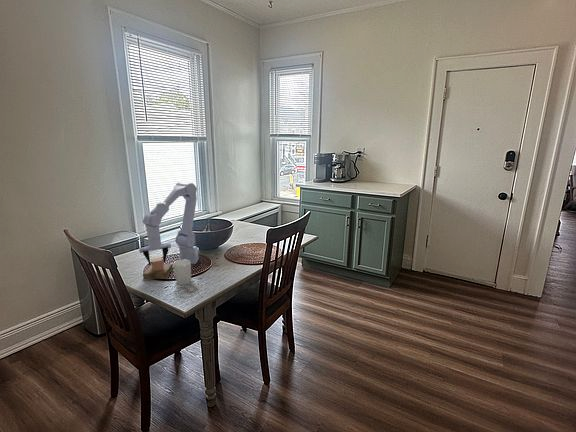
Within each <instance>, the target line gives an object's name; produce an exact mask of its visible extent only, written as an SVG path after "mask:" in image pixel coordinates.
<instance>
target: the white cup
mask: <svg viewBox="0 0 576 432" xmlns="http://www.w3.org/2000/svg"><path fill="white" fill-rule="evenodd" d="M172 267H173V271H174V277H175V282H176V284H177V285H179V286H183V285H188V284H190V283H191V282H192V264H191V261H190V260H186V259H184V260H180V259H178V260H176V261H174V262H172Z"/></svg>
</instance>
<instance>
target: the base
mask: <svg viewBox="0 0 576 432" xmlns="http://www.w3.org/2000/svg"><path fill="white" fill-rule="evenodd" d="M163 267H164V270H158V271H153V269H152V264H151V265H150V266H148V267H147V269H145V271H144V272H142V277H143V280H159V279H160V280H163V279H164V280H165V279H168V277H169V275H170V274H171V273H170V272H172V271H173V270H174V267H173V263H163ZM172 269H173V270H172Z"/></svg>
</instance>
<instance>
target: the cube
mask: <svg viewBox="0 0 576 432" xmlns="http://www.w3.org/2000/svg"><path fill="white" fill-rule="evenodd" d="M150 263H151V265H152V269H153V271H158V270H164V267H163V264H164V261H163V256H159V257H153V258H150Z"/></svg>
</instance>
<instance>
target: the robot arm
mask: <svg viewBox="0 0 576 432" xmlns="http://www.w3.org/2000/svg"><path fill="white" fill-rule="evenodd" d="M197 189H198V187H197V186H196V185H195V183H192V182H183V181H179V182H178V181H177V183H176V184H175V185H173V188H172V191H170V193H169V194H168V196H167V197H166V198H165V200H163V201H162V202H161V201H160V202H159V203H156V206H155V207H154V208H153V209H152V210H150V211H149V212H150V213H146V215H144V217H143V220H142V223H143V225H145V229H146V235H147V243H148V245H146V246H142V247H139V248H138V251H139V253H140V254H143V256H144V257H145V258H146V260H147V262H148V265H149V266H150V265H152V263H151V257H150V253H149V252H151V251H152V252H153V251H158V250H159V251H160V250H162V260H163V264H166V259H167V255H168V253H169V249H172V244H171V242H170V243H169V242H168V243H162V241H161V240H162V239H161V232H160V225H161V223H162V220H163V217H165V215H166V214H167V213H168V212H169V211H170V206H171V205H172V204H173V203H174V202H176V201H177V199H178V198H180V197H182V198H183V199H184V201H185V205H184V211H183V215H182V217H183V218H182V223H181V229H179V230H178V231H177V235H176V237H175V243H176V245H177V246H178V250H179V260H184V259H186V260H190V261H191V265H196V264H197V263H198V261H199V259H200V258H199V251H198V250H199V249H198V246H196V245H195V244H196V234H195V232H194V231H193V226H194V218H195V214H196V213H195V212H196V207H197V200H198V199H197V198H198V197H197V191H198V190H197ZM149 266H148V267H149Z"/></svg>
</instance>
